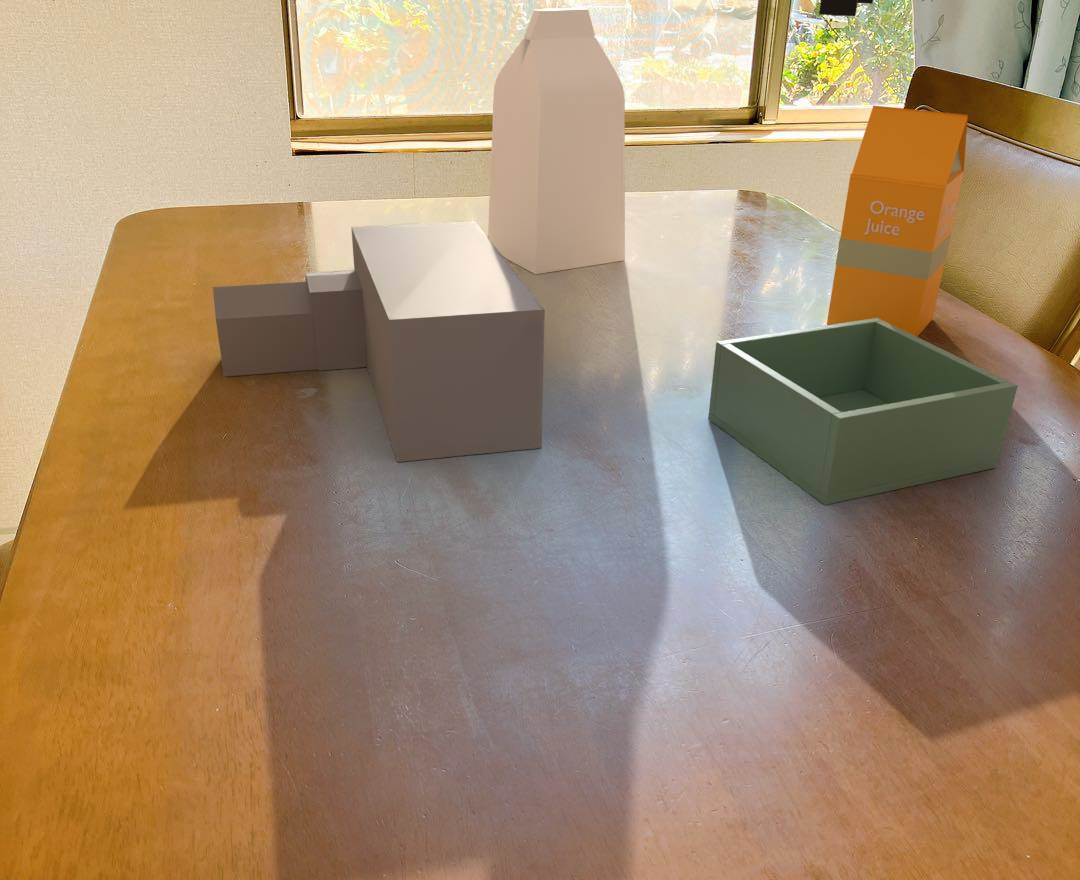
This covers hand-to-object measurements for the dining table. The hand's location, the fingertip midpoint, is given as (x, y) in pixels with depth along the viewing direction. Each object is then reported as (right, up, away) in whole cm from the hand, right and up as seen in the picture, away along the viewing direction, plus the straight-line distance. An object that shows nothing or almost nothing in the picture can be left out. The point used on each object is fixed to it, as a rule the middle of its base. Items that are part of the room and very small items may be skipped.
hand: (847, 9), depth 89 cm
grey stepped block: (-40, -32, +1) cm, 51 cm away
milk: (-24, -10, +38) cm, 46 cm away
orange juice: (+9, -22, +20) cm, 31 cm away
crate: (-2, -36, -5) cm, 37 cm away
